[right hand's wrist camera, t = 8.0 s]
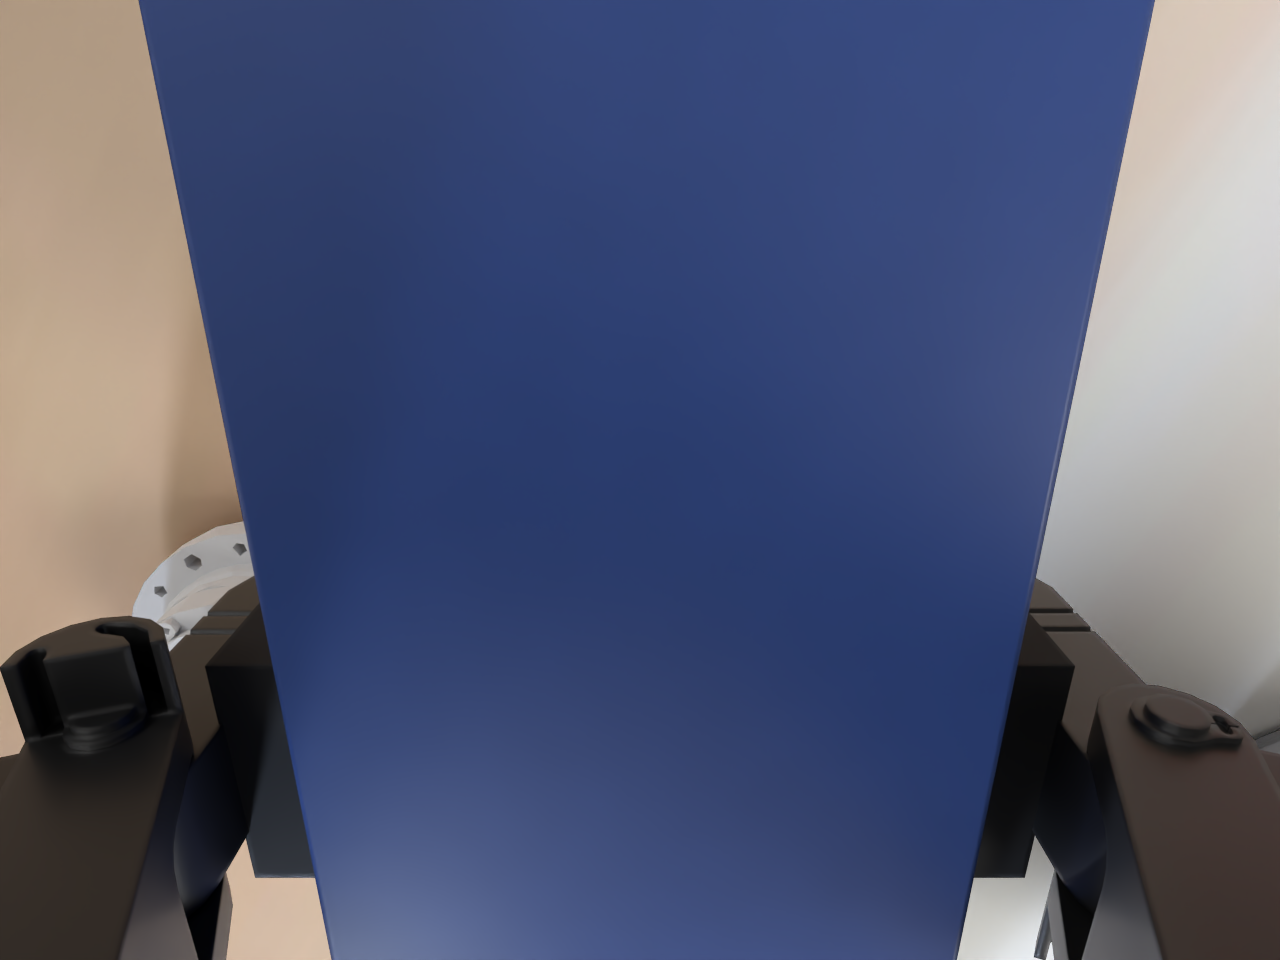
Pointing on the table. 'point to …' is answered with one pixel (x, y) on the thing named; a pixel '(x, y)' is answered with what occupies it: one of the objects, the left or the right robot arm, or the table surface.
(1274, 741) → the left robot arm
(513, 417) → the bar
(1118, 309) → the table surface
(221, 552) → the mechanical component
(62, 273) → the table surface
